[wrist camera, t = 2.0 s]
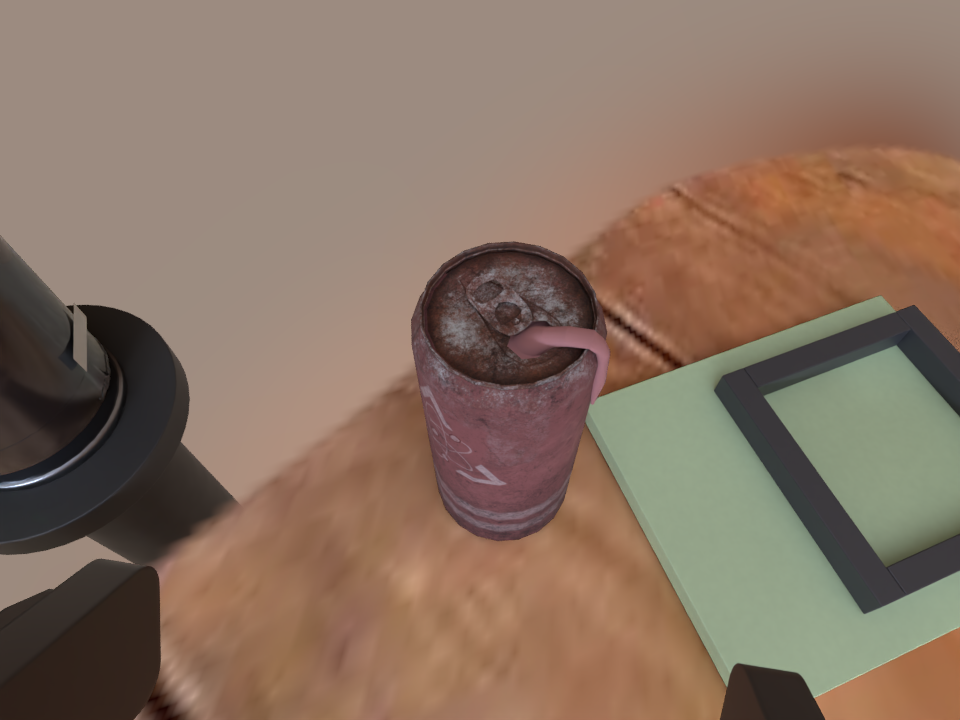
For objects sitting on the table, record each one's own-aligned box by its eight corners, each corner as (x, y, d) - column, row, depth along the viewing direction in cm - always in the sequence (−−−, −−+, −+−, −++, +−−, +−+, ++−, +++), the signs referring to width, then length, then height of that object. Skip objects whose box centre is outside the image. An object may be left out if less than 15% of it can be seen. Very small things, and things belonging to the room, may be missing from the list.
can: (557, 560, 29) (603, 418, 17) (422, 525, 30) (379, 368, 18) (581, 441, 32) (633, 252, 21) (458, 413, 33) (441, 216, 21)
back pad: (747, 727, 26) (772, 722, 23) (580, 413, 33) (587, 387, 31) (1093, 558, 29) (1145, 540, 27) (870, 307, 36) (895, 277, 34)
